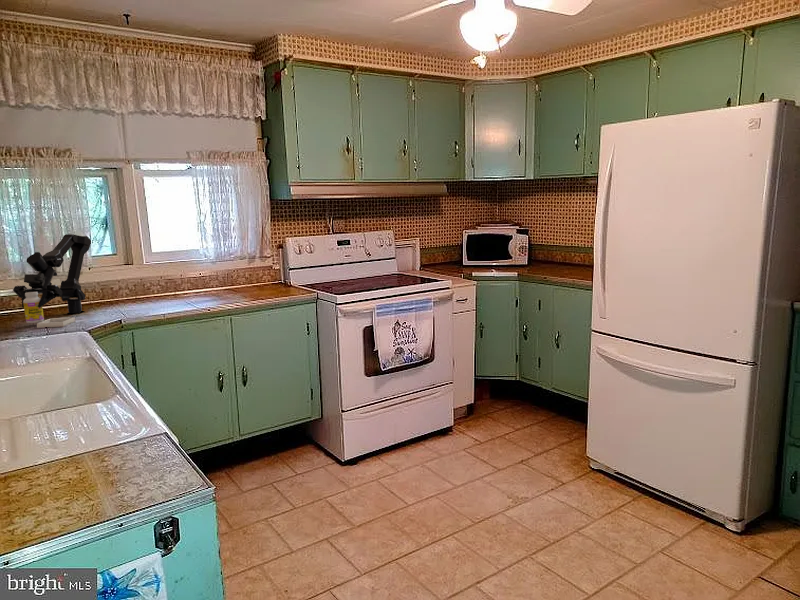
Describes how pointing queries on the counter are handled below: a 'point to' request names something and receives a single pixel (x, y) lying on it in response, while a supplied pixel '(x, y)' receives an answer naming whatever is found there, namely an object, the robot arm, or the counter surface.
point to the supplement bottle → (33, 308)
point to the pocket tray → (55, 322)
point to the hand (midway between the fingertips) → (30, 307)
